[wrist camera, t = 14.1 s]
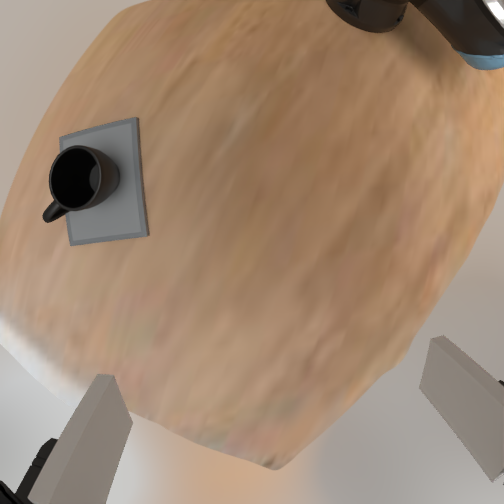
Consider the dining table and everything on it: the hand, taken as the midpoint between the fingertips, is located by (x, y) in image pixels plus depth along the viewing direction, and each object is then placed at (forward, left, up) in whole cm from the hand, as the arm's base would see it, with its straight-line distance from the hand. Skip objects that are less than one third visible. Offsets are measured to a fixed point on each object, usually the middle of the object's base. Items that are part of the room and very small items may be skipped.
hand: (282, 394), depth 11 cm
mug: (-10, -22, -34) cm, 42 cm away
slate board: (-11, -22, -35) cm, 42 cm away
